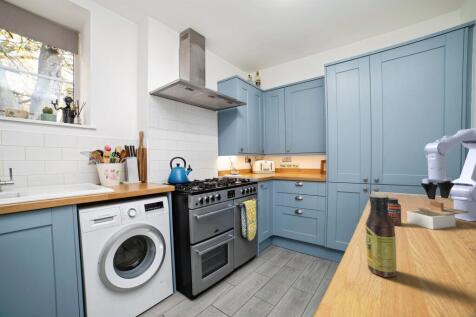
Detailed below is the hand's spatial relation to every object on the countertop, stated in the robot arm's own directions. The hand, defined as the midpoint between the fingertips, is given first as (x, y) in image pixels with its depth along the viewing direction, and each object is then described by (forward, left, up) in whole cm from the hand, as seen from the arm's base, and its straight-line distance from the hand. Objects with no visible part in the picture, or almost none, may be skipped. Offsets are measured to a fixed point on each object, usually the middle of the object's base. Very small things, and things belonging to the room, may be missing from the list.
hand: (438, 198), depth 90 cm
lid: (+1, +2, -5) cm, 6 cm away
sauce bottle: (+61, +27, -11) cm, 67 cm away
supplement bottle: (+22, -3, -11) cm, 25 cm away
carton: (+8, +2, -10) cm, 13 cm away
